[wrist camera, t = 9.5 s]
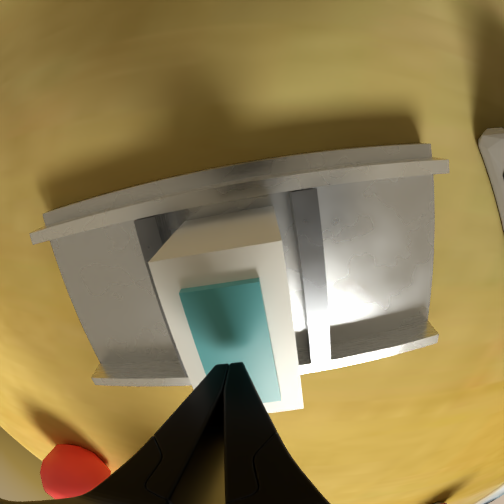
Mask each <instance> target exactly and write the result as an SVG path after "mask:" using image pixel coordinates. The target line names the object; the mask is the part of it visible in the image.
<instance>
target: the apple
mask: <svg viewBox="0 0 504 504" xmlns="http://www.w3.org/2000/svg"><path fill="white" fill-rule="evenodd" d="M40 474H41V479H42V483H43V487H44V490H45V492H46V493H47V494H49V495H50V496H51V497H53V498H54V499H62V498H71V497H76V496H80V495H83V494H85V493H87V492H89V491H91V490H92V489H94V488H95V487H96V486H98V485H99V484H100V483H101V482H103V481H104V480H105V479H106V478H108V477H109V476H110V474H111V471H110V470H109V468H108V467H107V466H106V465H105V464H104V462H103V461H102V460H101V459H100V458H99V457H98V456H97V455H96V454H95V453H94V452H91V451H89V450H87V449H85V448H82V447H80V446H75V445H70V444H57V445H56V446H55V447H54V449H53V450H52V451H51V452H50V453H49V454H48V455H47V456H46V457H45V458H44V460H43V462H42V466H41V471H40Z"/></svg>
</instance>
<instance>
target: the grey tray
mask: <svg viewBox="0 0 504 504" xmlns="http://www.w3.org/2000/svg"><path fill="white" fill-rule="evenodd" d="M444 173H449V160H448V159H441V158H435V157H432V153H431V144H427V143H412V144H394V145H379V146H366V147H355V148H344V149H335V150H326V151H317V152H309V153H301V154H294V155H287V156H280V157H273V158H267V159H261V160H254V161H248V162H243V163H237V164H232V165H226V166H221V167H216V168H211V169H206V170H201V171H196V172H191V173H186V174H182V175H177V176H173V177H169V178H164V179H160V180H156V181H152V182H148V183H144V184H140V185H136V186H132V187H128V188H124V189H120V190H117V191H113V192H109V193H106V194H102V195H99V196H95V197H92V198H89V199H85V200H82V201H79V202H75V203H72V204H69V205H66V206H63V207H60V208H56V209H53V210H51V211H49V212H46V213H44V214H43V218H44V222H45V226H43V227H41V228H39V229H37V230H35V231H33V232H32V233H30V237H31V241H32V244H33V245H34V244H37V243H41V242H45V241H48V240H50V242H51V245H52V248H53V252H54V255H55V258H56V261H57V263H58V266H59V269H60V272H61V275H62V278H63V280H64V283H65V286H66V288H67V291H68V293H69V296H70V298H71V301H72V303H73V306H74V308H75V310H76V313H77V315H78V317H79V320H80V322H81V324H82V326H83V328H84V331H85V333H86V335H87V337H88V339H89V341H90V343H91V345H92V347H93V349H94V351H95V353H96V355H97V357H98V359H99V361H100V364H99V366H98V367H97V369H96V371H95V372H94V374H93V376H92V377H91V378H92V380H93V382H94V383H95V385H107V386H186V385H191V382H190V380H189V377H188V375H187V372H186V370H185V367H184V365H183V362H182V360H181V357H180V355H179V352H178V349H177V347H176V344H175V341H174V339H173V336H172V333H171V331H170V328H169V325H168V322H167V319H166V316H165V314H164V311H163V308H162V305H161V302H160V299H159V296H158V293H157V290H156V287H155V283H154V280H153V277H152V274H151V271H150V267H149V264H148V262H149V261H150V260H151V258H152V257H153V256H154V255H155V254H156V253H157V252H158V250H159V249H160V248H161V247H162V246H163V245H164V244H165V242H166V241H167V240H168V239H169V238H170V237H171V236H172V235H173V233H174V232H175V231H176V230H177V229H178V228H179V227H180V226H181V225H182V223H183V222H184V221H188V220H193V219H198V218H204V217H209V216H215V215H220V214H226V213H232V212H237V211H243V210H249V209H255V208H261V207H267V206H273V207H274V211H275V215H276V219H277V223H278V227H279V231H280V235H281V239H282V245H283V252H284V259H285V265H286V272H287V279H288V286H289V294H290V301H291V308H292V316H293V323H294V331H295V339H296V346H297V355H298V363H299V371H300V374H305V373H311V372H317V371H323V370H328V369H333V368H339V367H344V366H349V365H353V364H358V363H363V362H367V361H371V360H376V359H380V358H384V357H388V356H392V355H396V354H400V353H404V352H407V351H411V350H414V349H418V348H421V347H425V346H428V345H432V344H435V343H437V341H438V336H439V334H438V332H437V331H436V330H435V329H434V327H433V326H432V325H431V324H430V323H429V321H428V313H429V304H430V295H431V285H432V273H433V257H434V181H433V174H444Z"/></svg>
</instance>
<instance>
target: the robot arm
mask: <svg viewBox="0 0 504 504" xmlns="http://www.w3.org/2000/svg"><path fill="white" fill-rule="evenodd" d="M0 504H330V503H329V502H328V501H327V500H326V499H325V498H324V496H323V495H322V494H321V493H320V492H319V491H318V489H317V488H316V487H315V486H314V485H313V484H312V482H311V481H310V480H309V479H308V478H307V476H306V475H305V474H304V473H303V471H302V470H301V469H300V468H299V466H298V465H297V464H296V462H295V461H294V460H293V458H292V457H291V455H290V454H289V452H288V450H287V449H286V447H285V445H284V444H283V442H282V440H281V438H280V436H279V434H278V433H277V430H276V428H275V426H274V424H273V422H272V420H271V419H270V417H269V415H268V413H267V411H266V409H265V406H264V404H263V402H262V400H261V398H260V396H259V394H258V392H257V390H256V388H255V386H254V384H253V382H252V380H251V378H250V376H249V373H248V371H247V369H246V367H245V365H244V363H243V362H235V363H231V364H230V365H229V364H228V363H225V364H217V365H215V366H214V367H213V368H212V369H211V371H210V372H209V373H208V374H207V375H206V376H205V378H204V379H203V380H202V381H201V382H200V383H199V385H198V386H197V387H196V388H195V389H194V390H193V391H192V393H191V394H190V395H189V396H188V397H187V398H186V399H185V401H184V402H183V403H182V404H181V405H180V406H179V407H178V408H177V410H176V411H175V412H174V413H173V414H172V415H171V416H170V417H169V419H168V420H167V421H166V422H165V423H164V424H163V425H162V426H161V427H160V429H159V430H158V431H157V432H156V433H155V434H154V436H152V437H151V438H150V439H149V440H148V441H147V443H146V444H145V445H144V446H143V447H142V448H141V449H140V450H139V451H138V452H137V453H136V454H135V455H134V456H133V457H131V458H130V459H129V460H128V461H127V462H126V463H125V464H123V465H122V466H121V467H120V468H119V469H118V470H116V471H115V472H114V473H113V474H111V475H110V476H109V477H108V478H106V479H105V480H104V481H103V482H101V483H100V484H99V485H98V486H96V487H95V488H94V489H92V490H91V491H89V492H87V493H85V494H83V495H80V496H76V497H71V498H62V499H53V500H42V501H26V502H15V501H8V500H4V499H1V498H0Z"/></svg>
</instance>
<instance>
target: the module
mask: <svg viewBox="0 0 504 504" xmlns="http://www.w3.org/2000/svg"><path fill="white" fill-rule="evenodd" d="M148 264H149V267H150V271H151V274H152V277H153V280H154V283H155V287H156V290H157V293H158V296H159V299H160V302H161V305H162V308H163V311H164V314H165V316H166V319H167V322H168V325H169V328H170V331H171V333H172V336H173V339H174V341H175V344H176V347H177V349H178V352H179V355H180V357H181V360H182V362H183V365H184V367H185V370H186V372H187V375H188V377H189V380H190V382H191V385H192V387H193V389H195V388H196V387H197V386H198V385H199V383H200V382H201V381H202V380H203V379H204V378H205V376H206V375H207V374H208V373H209V372H210V371H211V369H212V368H213V367H214V366H215V365H217V364H225V363H228V364H229V365H230V364H231V363H235V362H243V363H244V365H245V367H246V369H247V371H248V373H249V376H250V378H251V380H252V382H253V384H254V386H255V388H256V390H257V392H258V394H259V396H260V398H261V400H262V402H263V404H264V406H265V409H266V411H267V413H273V412H281V411H289V410H296V409H302V408H304V406H303V397H302V388H301V380H300V371H299V363H298V355H297V346H296V339H295V331H294V323H293V316H292V308H291V301H290V294H289V286H288V279H287V272H286V265H285V259H284V252H283V245H282V239H281V235H280V231H279V227H278V223H277V219H276V215H275V211H274V207H273V206H267V207H261V208H255V209H249V210H243V211H237V212H232V213H226V214H220V215H215V216H209V217H204V218H198V219H193V220H188V221H184V222H183V223H182V225H181V226H180V227H179V228H178V229H177V230H176V231H175V232H174V233H173V235H172V236H171V237H170V238H169V239H168V240H167V241H166V242H165V244H164V245H163V246H162V247H161V248H160V249H159V250H158V252H157V253H156V254H155V255H154V256H153V257H152V258H151V260H150V261H149V262H148Z"/></svg>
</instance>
